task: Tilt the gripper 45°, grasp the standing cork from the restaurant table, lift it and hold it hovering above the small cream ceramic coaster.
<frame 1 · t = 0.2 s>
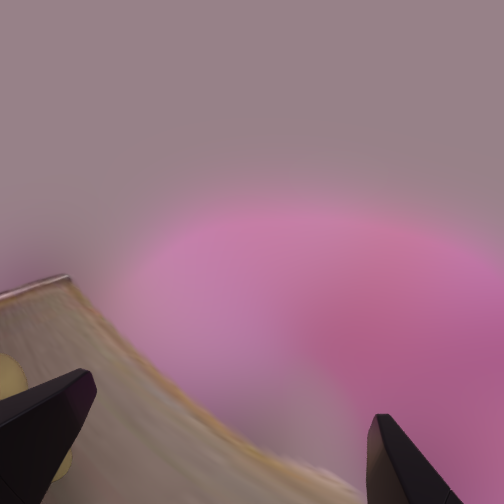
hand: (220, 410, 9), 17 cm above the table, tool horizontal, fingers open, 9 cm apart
cork: (44, 458, 20), on the table
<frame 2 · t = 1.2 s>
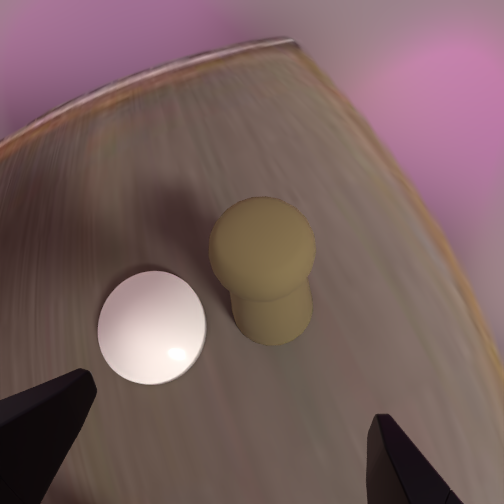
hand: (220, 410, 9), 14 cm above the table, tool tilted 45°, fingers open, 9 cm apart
cork: (272, 306, 24), on the table
coaster: (151, 328, 24), on the table
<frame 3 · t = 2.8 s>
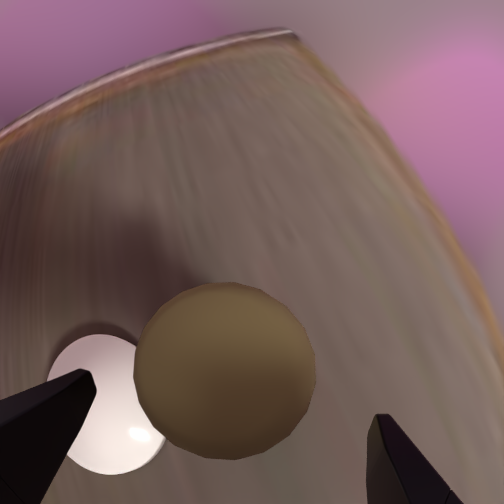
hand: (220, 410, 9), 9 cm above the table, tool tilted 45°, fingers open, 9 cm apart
cork: (256, 389, 17), on the table
coaster: (105, 405, 17), on the table
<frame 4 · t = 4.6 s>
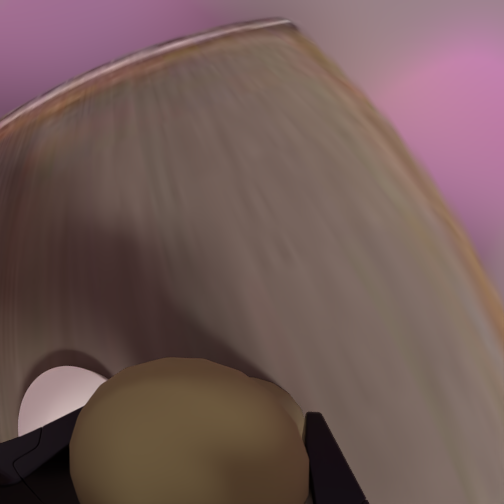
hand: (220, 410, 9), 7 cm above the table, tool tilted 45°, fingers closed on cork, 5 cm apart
cork: (245, 435, 14), on the table, touching gripper
coaster: (80, 442, 14), on the table
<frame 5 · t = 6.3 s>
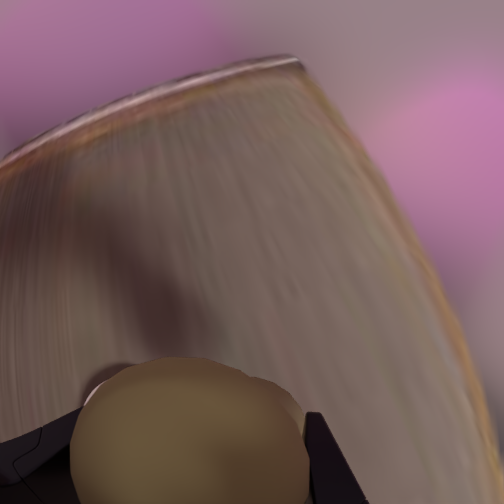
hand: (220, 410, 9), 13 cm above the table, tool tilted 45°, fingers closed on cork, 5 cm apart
cork: (245, 434, 14), point 6 cm above the table, touching gripper
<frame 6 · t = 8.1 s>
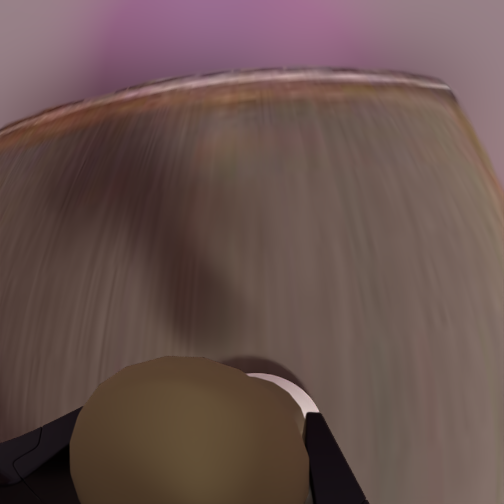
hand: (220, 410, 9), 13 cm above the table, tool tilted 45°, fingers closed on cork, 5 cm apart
cork: (245, 434, 14), point 6 cm above the table, touching gripper
coaster: (256, 436, 19), on the table
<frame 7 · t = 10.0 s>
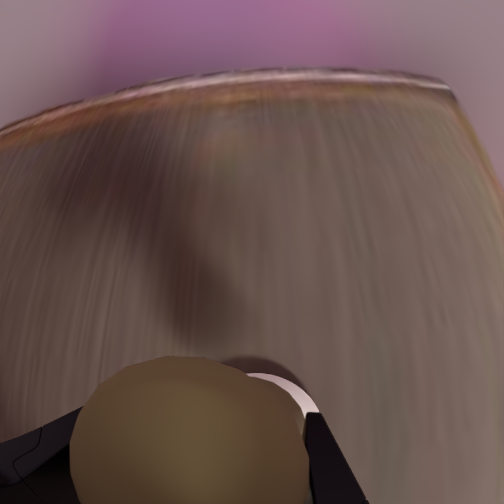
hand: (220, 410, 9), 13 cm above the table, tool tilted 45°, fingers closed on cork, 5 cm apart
cork: (245, 434, 14), point 6 cm above the table, touching gripper
coaster: (256, 436, 19), on the table
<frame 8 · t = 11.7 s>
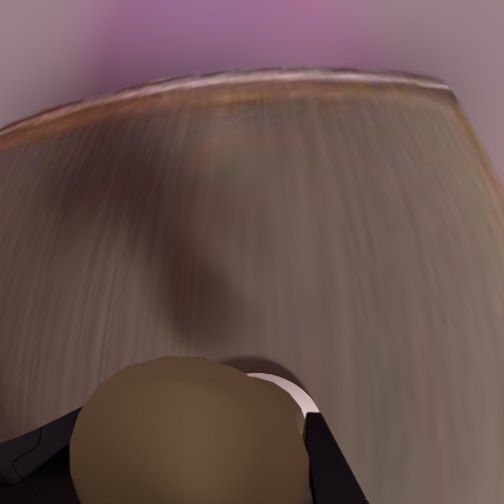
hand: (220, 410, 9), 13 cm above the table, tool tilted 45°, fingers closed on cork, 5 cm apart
cork: (245, 434, 14), point 6 cm above the table, touching gripper
coaster: (256, 436, 19), on the table
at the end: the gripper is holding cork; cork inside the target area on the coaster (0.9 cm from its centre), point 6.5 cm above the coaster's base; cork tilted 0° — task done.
